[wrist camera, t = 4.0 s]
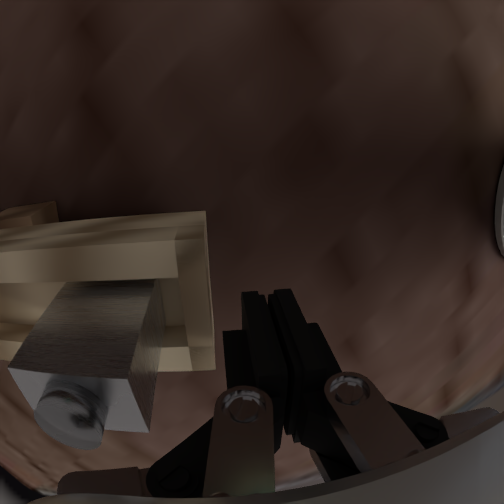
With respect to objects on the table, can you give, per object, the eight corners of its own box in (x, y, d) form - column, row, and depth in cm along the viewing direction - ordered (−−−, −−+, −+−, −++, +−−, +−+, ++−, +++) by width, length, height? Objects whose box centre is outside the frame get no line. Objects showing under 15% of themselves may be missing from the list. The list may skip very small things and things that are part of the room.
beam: (206, 186, 16) (199, 272, 7) (213, 301, 19) (220, 441, 10) (-63, 222, 14) (-145, 280, 4) (-39, 302, 16) (-101, 375, 7)
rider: (158, 271, 12) (120, 409, 6) (166, 320, 13) (146, 459, 7) (71, 275, 12) (-7, 390, 5) (85, 321, 13) (31, 441, 6)
